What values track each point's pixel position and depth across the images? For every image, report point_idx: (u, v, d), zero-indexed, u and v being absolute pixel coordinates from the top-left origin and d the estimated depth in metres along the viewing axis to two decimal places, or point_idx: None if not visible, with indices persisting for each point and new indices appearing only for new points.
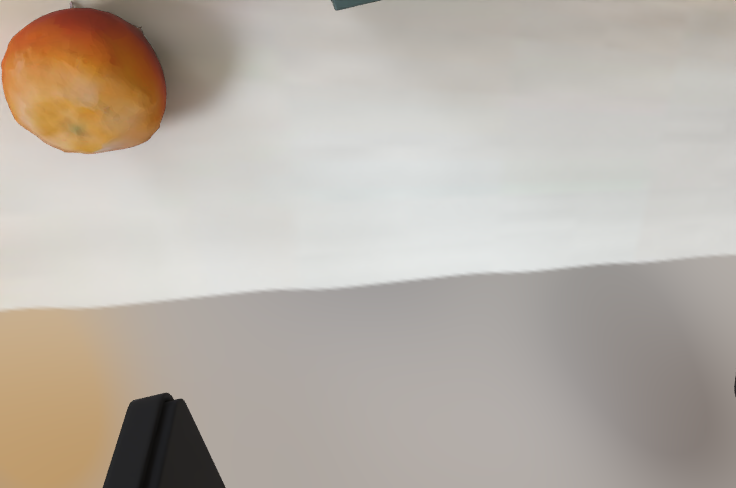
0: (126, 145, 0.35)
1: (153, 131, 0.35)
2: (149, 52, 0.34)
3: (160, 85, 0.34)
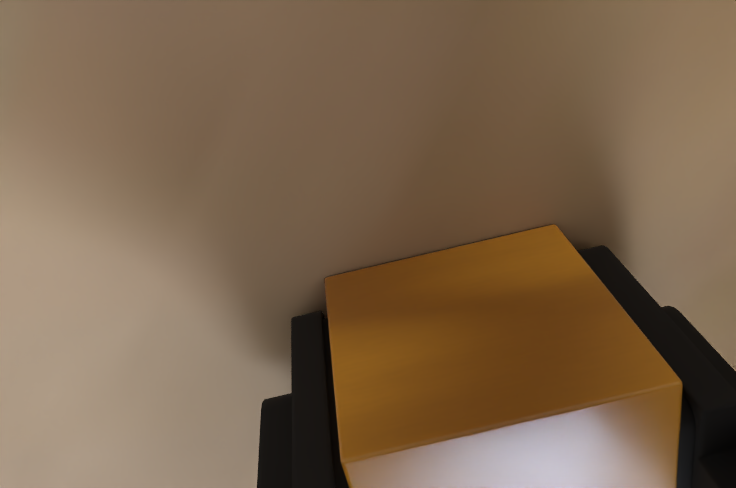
0: None
1: None
2: None
3: None
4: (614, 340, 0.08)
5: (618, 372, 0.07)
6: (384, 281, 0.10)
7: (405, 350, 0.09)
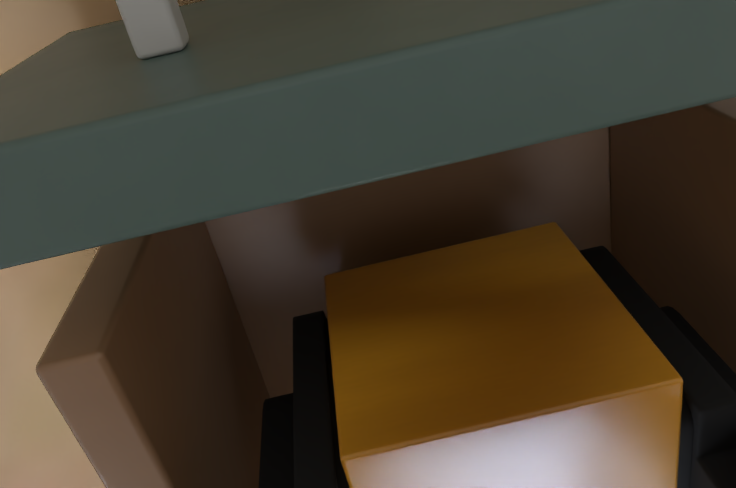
0: None
1: None
2: None
3: None
4: (614, 337, 0.08)
5: (618, 369, 0.07)
6: (384, 279, 0.10)
7: (404, 348, 0.09)
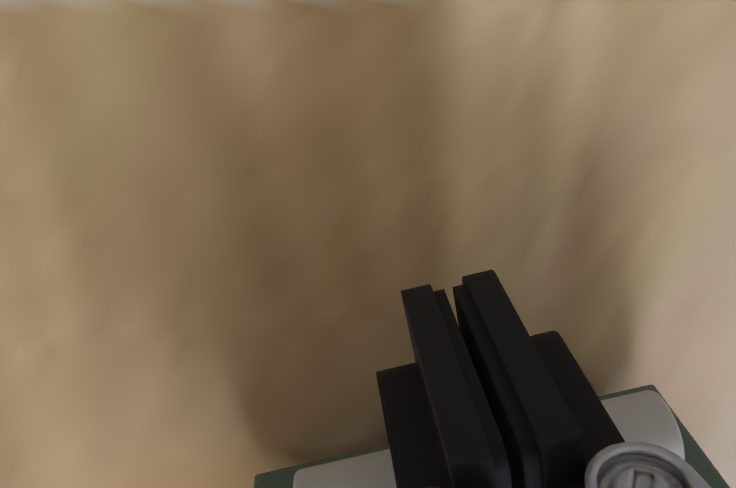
0: None
1: None
2: None
3: None
4: None
5: None
6: None
7: None
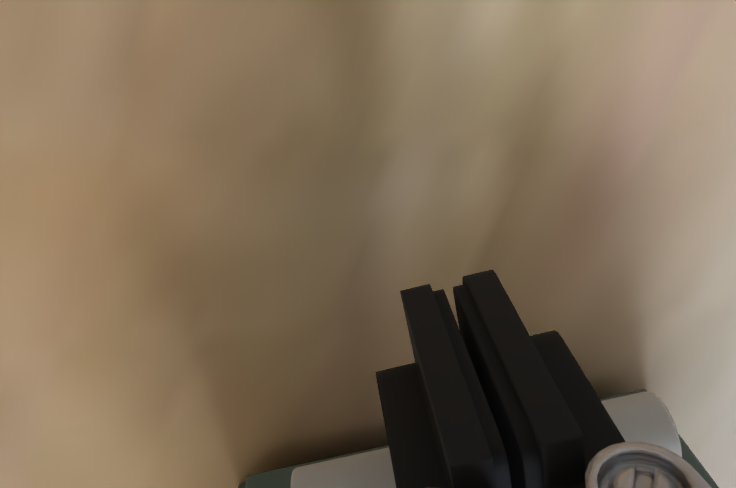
0: None
1: None
2: None
3: None
4: None
5: None
6: None
7: None
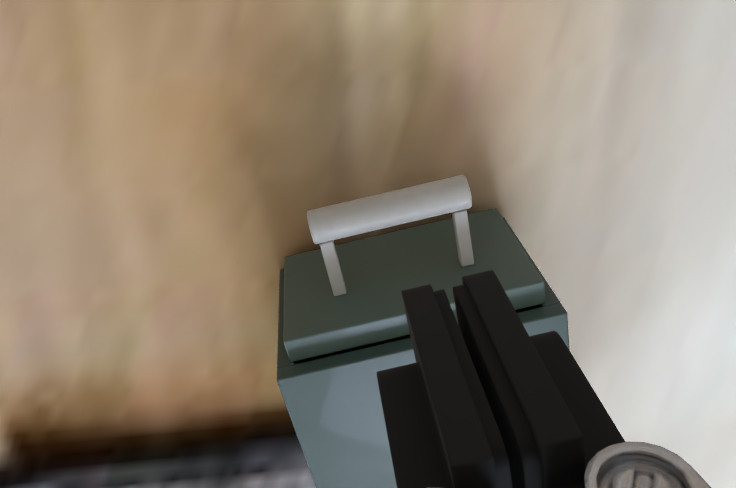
0: None
1: None
2: None
3: None
4: None
5: None
6: None
7: (396, 339, 0.32)
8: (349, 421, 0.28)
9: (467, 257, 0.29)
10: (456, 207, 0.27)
